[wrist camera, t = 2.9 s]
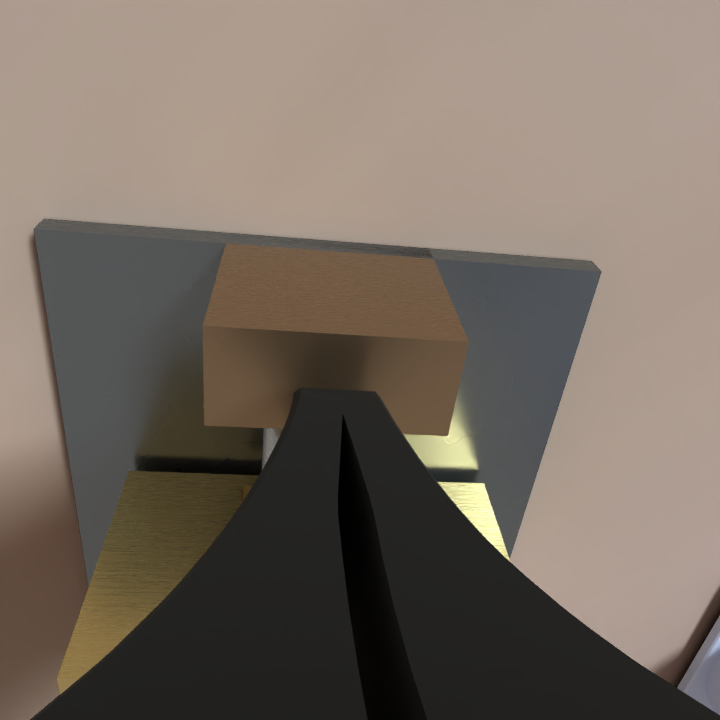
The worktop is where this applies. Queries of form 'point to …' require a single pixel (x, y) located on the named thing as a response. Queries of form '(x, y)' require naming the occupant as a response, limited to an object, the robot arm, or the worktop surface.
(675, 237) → the worktop surface
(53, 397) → the worktop surface
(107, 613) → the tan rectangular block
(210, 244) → the pipe rig
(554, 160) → the worktop surface
